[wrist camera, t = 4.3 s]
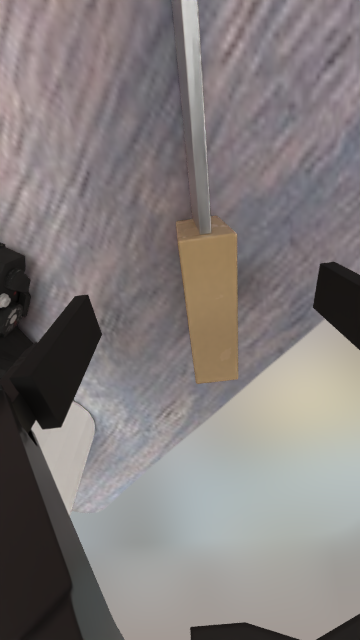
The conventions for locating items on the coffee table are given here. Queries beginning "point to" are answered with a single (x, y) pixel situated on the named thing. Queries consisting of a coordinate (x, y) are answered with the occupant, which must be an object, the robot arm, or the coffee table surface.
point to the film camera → (12, 307)
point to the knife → (203, 224)
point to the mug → (67, 450)
